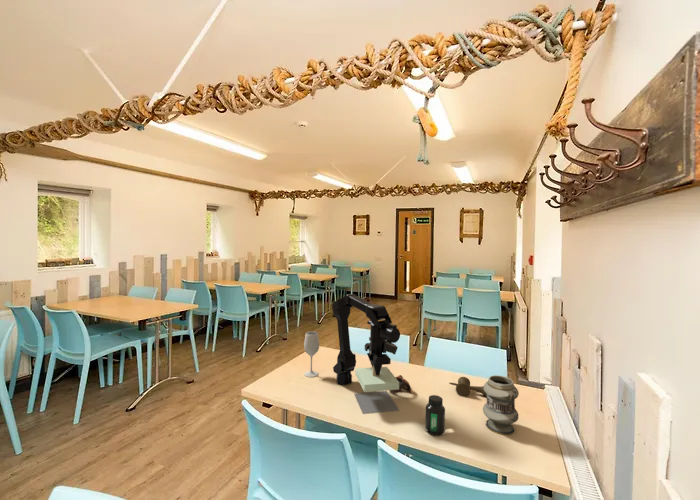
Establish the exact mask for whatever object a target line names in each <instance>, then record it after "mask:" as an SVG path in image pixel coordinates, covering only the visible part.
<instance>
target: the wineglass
mask: <svg viewBox="0 0 700 500" xmlns="http://www.w3.org/2000/svg"><path fill="white" fill-rule="evenodd" d="M319 338H320V337H319V334H318V332H317V331H313V330H312V331H310V330H309V331H307V332H305V337H304V342H303V349H304V352H305V353H306V354H307V355H308V356H309V357H310V370H308V371H305V372H304V374H303V376H304V377H307V378H316V377H318V375H319V372H317V371H315V370H313V357H314V356H315V355H316V354H317V353H318V352H319V349H320V339H319Z"/></svg>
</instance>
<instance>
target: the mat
mask: <svg viewBox="0 0 700 500" xmlns="http://www.w3.org/2000/svg"><path fill="white" fill-rule="evenodd" d="M353 394H354V397H355V399H356V402H357V404H358V406H359V408H360V410H361V413H362V415H366V414H378V413H389V412H391V413H392V412H400V409H399V408H398V406H397V404H396V402H395V401H394V400H393V399H392V397H391V395H390V394H389V393H388V390H384V391H371V392H356V393H353Z"/></svg>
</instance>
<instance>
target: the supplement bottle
mask: <svg viewBox="0 0 700 500" xmlns="http://www.w3.org/2000/svg"><path fill="white" fill-rule="evenodd" d="M443 400H444V399H443V397H441V396H440V395H436V394H431V395H429V397H428V402H427V404H426V405H425V417H424V418H425V419H424V420H425V422H424V427H425V429H426V432H427V434H429V435H431V436H439V437H440V436H443V434H444V433H445V427H446V407H445V405H443V403H444V402H443Z"/></svg>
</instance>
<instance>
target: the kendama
mask: <svg viewBox="0 0 700 500" xmlns="http://www.w3.org/2000/svg"><path fill="white" fill-rule="evenodd" d="M448 384H449V385H452V386H455V391H456V394H457V395H458V396H460V397H469V395H470V392H471V391H474V392H477V393H480V394H481V395H483V396H484V397H487V394H486V392H485V391H484V385H483V386H482V385H481V386H476V385H471V381H470V379H469V378H468V377H466V376H460V377H459V378H458V381H457V382H456V383H455V382H448Z"/></svg>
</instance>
